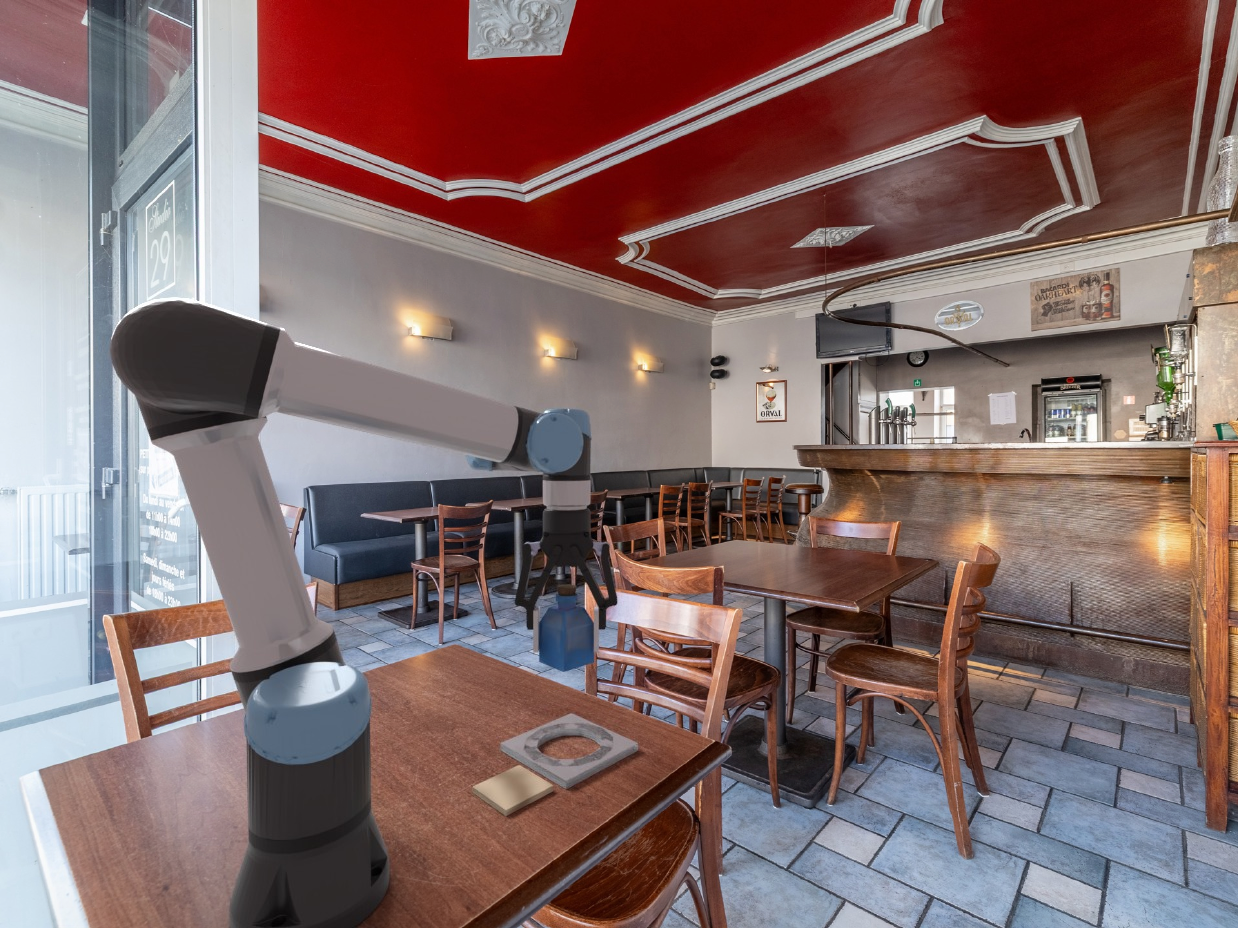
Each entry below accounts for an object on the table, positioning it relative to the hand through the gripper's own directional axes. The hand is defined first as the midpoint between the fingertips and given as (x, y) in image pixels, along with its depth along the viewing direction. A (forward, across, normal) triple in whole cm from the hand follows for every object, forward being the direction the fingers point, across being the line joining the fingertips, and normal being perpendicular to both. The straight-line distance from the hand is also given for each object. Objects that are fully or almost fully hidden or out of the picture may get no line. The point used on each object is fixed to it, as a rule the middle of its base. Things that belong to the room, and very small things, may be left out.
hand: (566, 649), depth 94 cm
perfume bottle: (+2, 0, 0) cm, 2 cm away
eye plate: (+16, 0, 0) cm, 16 cm away
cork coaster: (+16, +7, +11) cm, 21 cm away
